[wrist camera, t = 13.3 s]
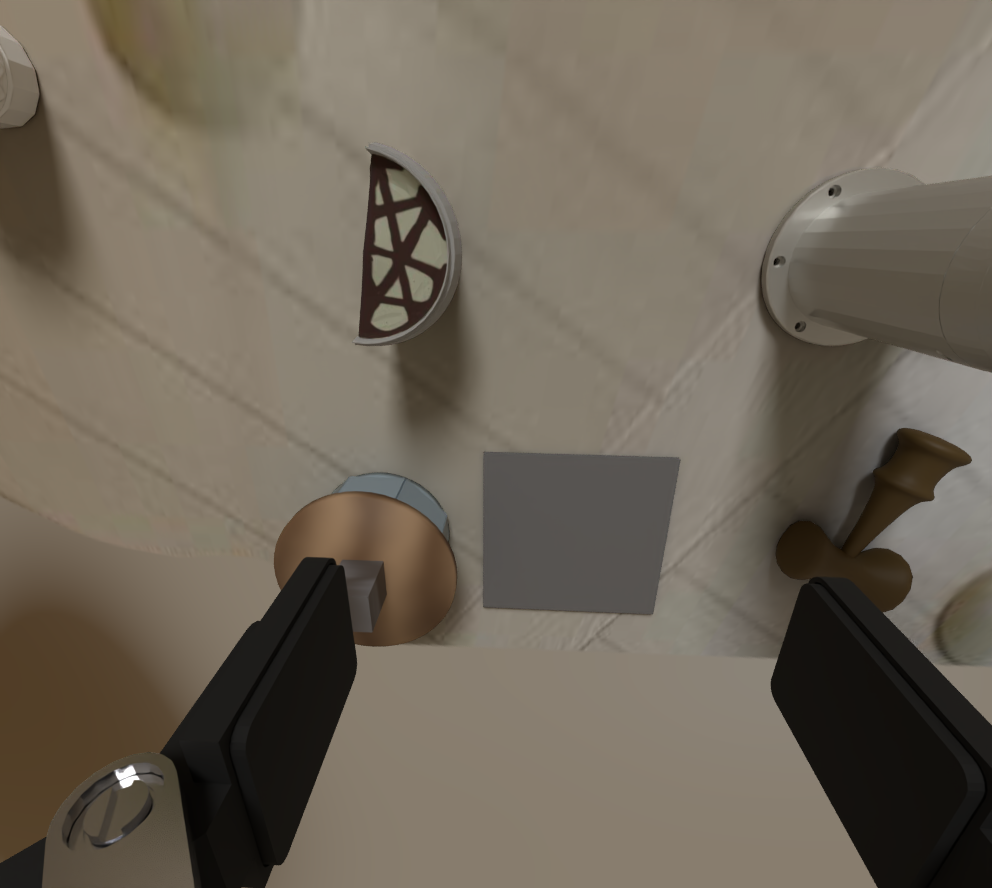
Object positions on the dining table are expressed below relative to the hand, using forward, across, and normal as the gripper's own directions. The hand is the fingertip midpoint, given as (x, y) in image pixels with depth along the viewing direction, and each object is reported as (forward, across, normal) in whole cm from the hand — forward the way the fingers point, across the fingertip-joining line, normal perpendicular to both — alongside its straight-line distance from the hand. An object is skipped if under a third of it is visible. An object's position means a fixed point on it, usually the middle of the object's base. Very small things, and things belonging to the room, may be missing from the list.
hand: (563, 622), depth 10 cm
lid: (+27, +14, +20) cm, 36 cm away
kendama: (+34, -31, +17) cm, 49 cm away
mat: (+33, -5, +20) cm, 39 cm away
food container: (+34, +8, -6) cm, 35 cm away
